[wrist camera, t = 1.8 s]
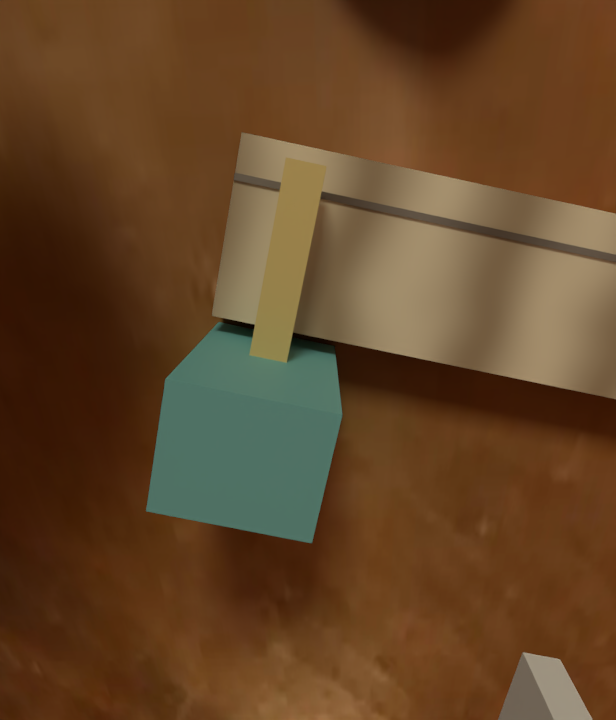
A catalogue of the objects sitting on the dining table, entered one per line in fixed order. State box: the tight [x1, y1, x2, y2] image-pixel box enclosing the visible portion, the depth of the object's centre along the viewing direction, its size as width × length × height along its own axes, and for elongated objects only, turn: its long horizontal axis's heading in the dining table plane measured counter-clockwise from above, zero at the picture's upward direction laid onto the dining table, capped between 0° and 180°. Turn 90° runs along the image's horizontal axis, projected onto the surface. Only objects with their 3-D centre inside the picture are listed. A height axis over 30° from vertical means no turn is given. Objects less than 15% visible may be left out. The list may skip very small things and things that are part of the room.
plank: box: [212, 132, 616, 399], centre depth 26 cm, size 23×8×3 cm, turn 78°
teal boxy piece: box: [146, 157, 342, 543], centre depth 23 cm, size 6×13×10 cm, turn 168°
